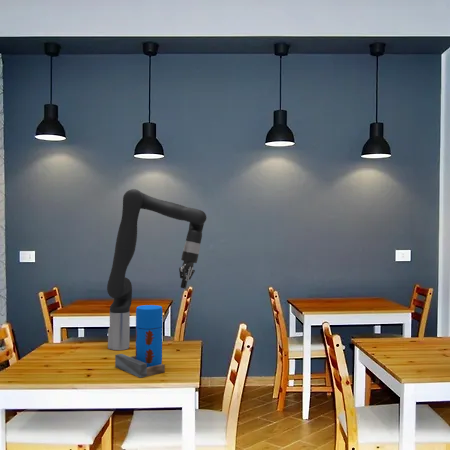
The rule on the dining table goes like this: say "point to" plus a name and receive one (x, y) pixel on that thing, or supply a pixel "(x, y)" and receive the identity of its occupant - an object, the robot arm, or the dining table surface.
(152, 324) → the thermos
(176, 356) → the dining table surface
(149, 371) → the bay
